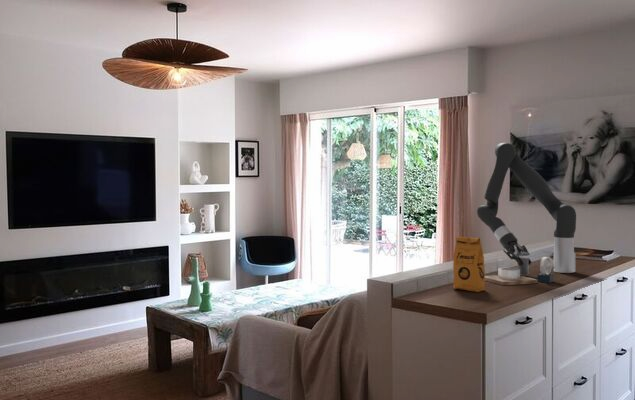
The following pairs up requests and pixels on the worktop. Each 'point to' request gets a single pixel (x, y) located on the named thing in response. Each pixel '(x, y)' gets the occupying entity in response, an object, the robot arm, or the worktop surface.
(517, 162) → the robot arm
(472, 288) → the coffee package
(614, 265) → the worktop surface
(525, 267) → the grey cylinder
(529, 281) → the mount board
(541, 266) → the watch
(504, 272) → the notched white ring
